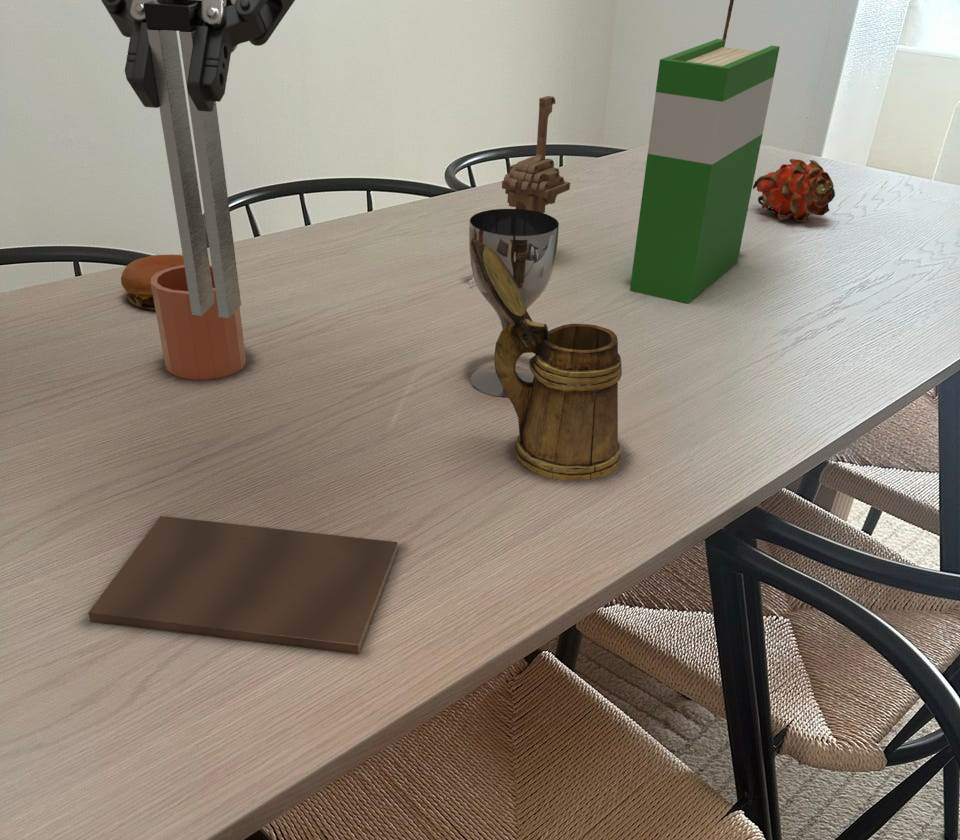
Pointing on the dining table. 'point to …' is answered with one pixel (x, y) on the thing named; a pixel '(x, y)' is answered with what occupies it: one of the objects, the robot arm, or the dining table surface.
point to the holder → (195, 331)
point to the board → (250, 584)
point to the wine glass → (515, 267)
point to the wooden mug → (555, 383)
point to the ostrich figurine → (535, 173)
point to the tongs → (193, 160)
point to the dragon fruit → (796, 190)
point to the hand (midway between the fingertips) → (172, 99)
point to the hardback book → (700, 167)
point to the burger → (146, 277)
